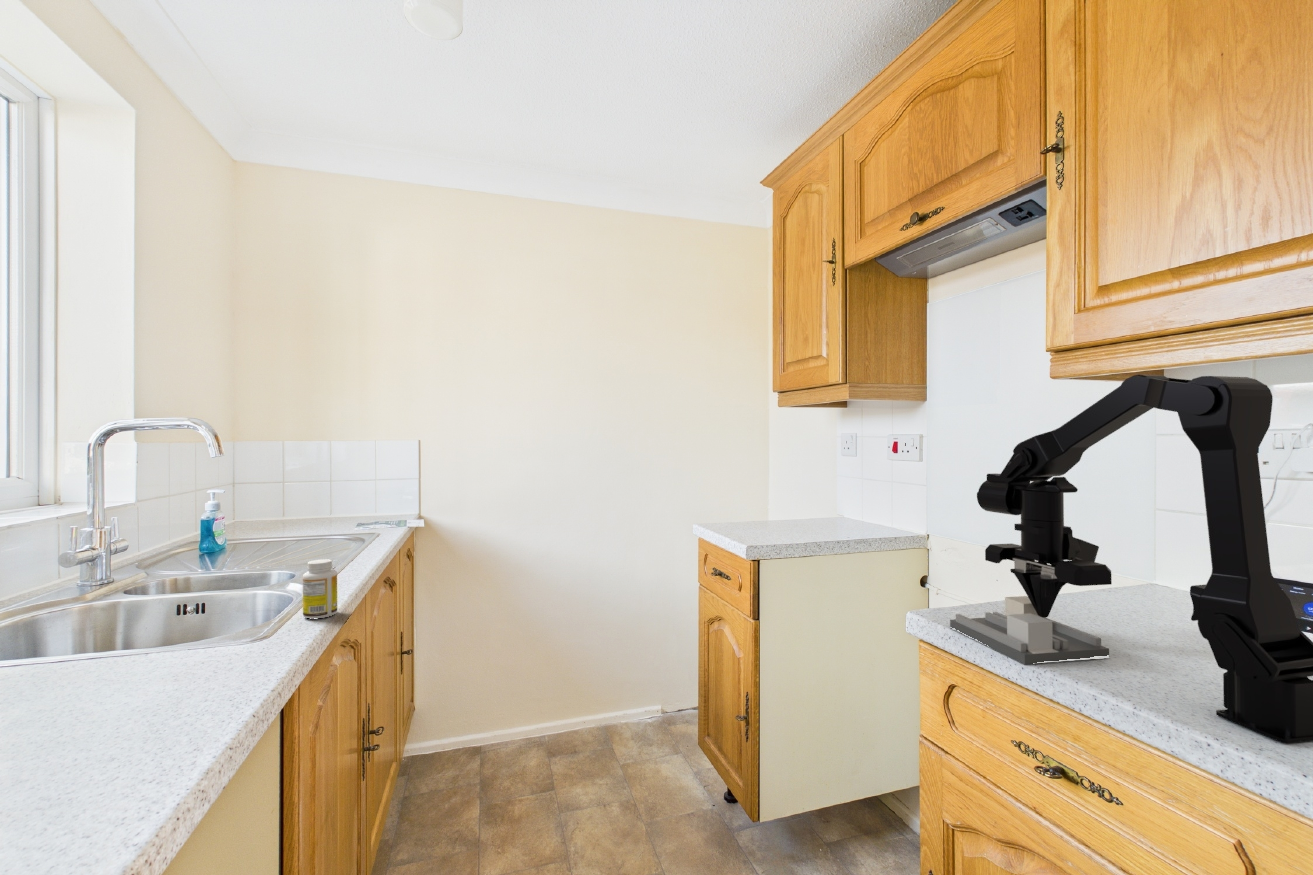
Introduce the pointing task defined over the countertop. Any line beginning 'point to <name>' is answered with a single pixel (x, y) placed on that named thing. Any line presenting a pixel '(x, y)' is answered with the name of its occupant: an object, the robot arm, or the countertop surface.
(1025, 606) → the beige cube
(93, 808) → the countertop surface
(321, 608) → the supplement bottle
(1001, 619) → the switch board
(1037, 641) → the light grey cube
